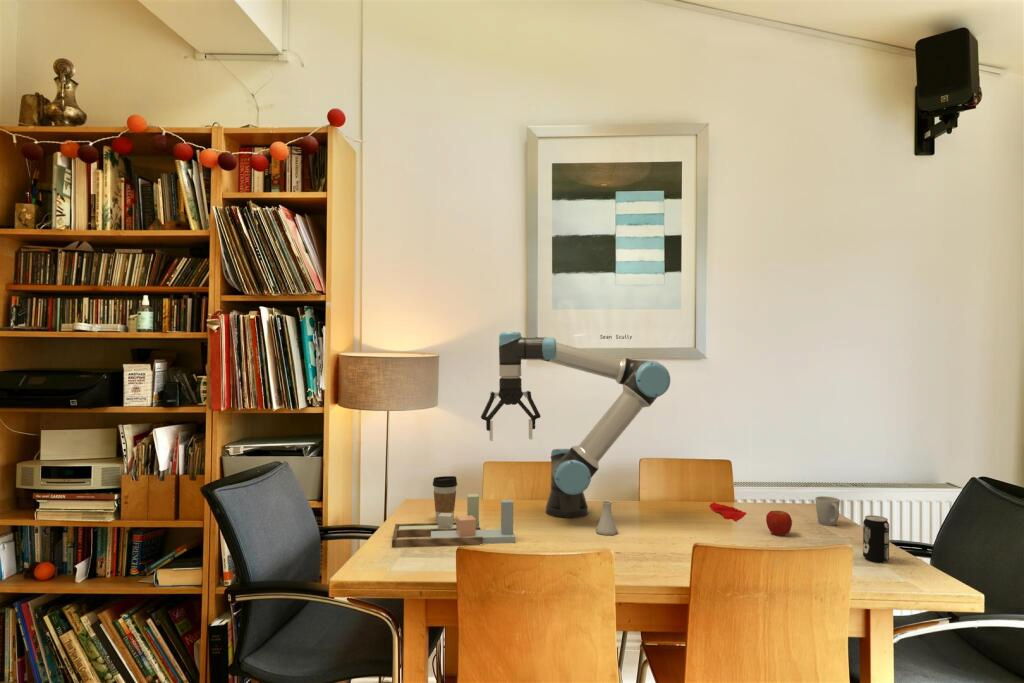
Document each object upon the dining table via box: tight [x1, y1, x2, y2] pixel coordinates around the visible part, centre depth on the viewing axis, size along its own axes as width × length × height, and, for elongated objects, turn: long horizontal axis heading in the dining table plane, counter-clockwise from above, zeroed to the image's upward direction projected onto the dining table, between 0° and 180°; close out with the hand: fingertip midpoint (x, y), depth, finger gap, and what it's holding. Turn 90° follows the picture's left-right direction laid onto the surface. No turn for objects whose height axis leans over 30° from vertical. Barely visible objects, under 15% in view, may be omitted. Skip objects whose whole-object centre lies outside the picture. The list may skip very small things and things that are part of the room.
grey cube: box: [437, 513, 454, 528], centre depth 218 cm, size 4×4×4 cm
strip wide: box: [430, 499, 516, 544], centre depth 211 cm, size 26×8×12 cm, turn 97°
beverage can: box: [862, 514, 890, 564], centre depth 194 cm, size 7×7×12 cm
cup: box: [815, 495, 841, 527], centre depth 231 cm, size 8×10×8 cm
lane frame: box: [391, 521, 484, 549], centre depth 213 cm, size 27×18×2 cm, turn 97°
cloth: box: [709, 501, 747, 523], centre depth 247 cm, size 26×14×2 cm, turn 169°
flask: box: [595, 500, 619, 536], centre depth 220 cm, size 7×7×10 cm
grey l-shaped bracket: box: [399, 493, 480, 530], centre depth 218 cm, size 26×5×12 cm, turn 97°
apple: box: [765, 510, 793, 536], centre depth 219 cm, size 8×8×8 cm
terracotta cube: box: [455, 515, 476, 537], centre depth 211 cm, size 5×5×5 cm
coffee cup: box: [432, 475, 458, 523], centre depth 233 cm, size 8×8×15 cm
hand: (511, 439), depth 231 cm, fingers open, 13 cm apart
